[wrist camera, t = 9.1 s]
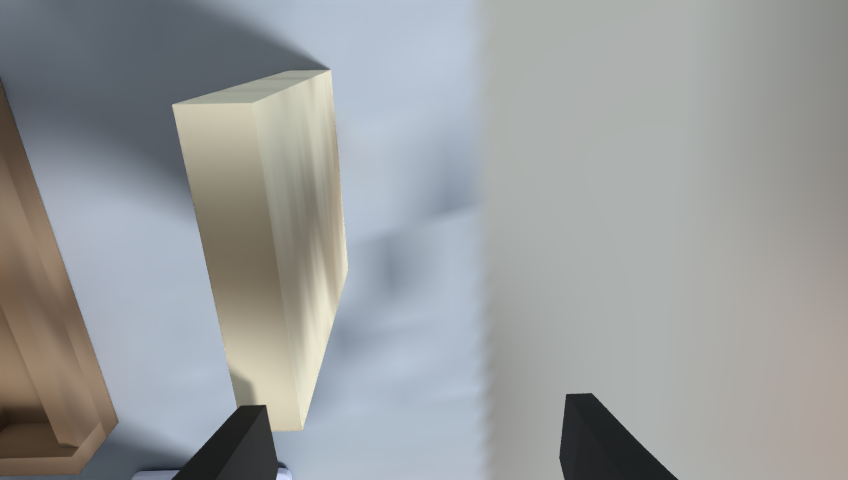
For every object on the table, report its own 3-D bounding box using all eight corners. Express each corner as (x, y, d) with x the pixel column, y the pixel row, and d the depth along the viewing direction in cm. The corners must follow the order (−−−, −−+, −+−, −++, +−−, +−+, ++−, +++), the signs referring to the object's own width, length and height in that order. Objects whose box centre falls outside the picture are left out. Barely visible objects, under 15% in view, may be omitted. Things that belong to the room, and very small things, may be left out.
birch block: (348, 269, 20) (302, 430, 12) (312, 270, 20) (242, 432, 12) (330, 69, 17) (252, 103, 9) (288, 70, 17) (171, 104, 9)
